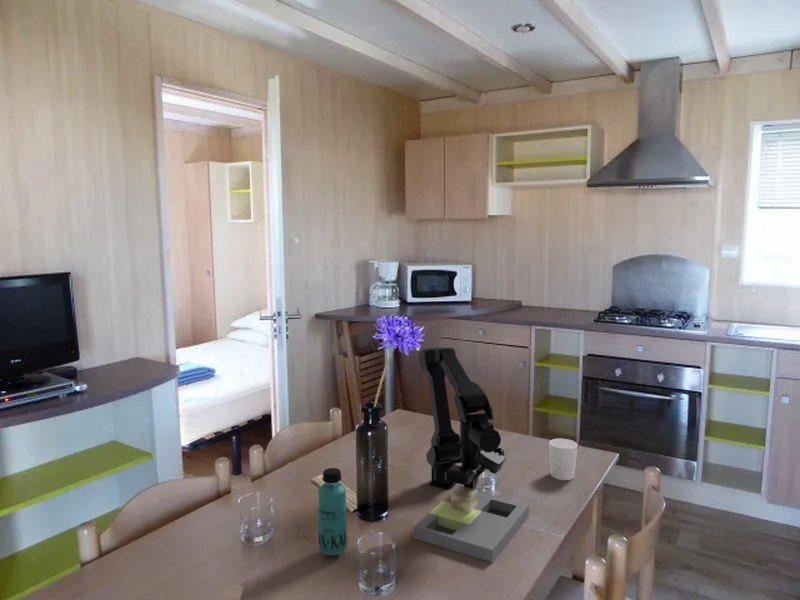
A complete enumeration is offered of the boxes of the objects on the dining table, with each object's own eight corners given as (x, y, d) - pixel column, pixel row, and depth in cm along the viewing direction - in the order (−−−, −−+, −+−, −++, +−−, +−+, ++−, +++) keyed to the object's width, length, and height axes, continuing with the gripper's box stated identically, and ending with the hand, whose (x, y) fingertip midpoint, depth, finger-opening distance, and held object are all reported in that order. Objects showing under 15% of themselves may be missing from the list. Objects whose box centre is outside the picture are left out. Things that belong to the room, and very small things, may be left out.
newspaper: (312, 482, 172) (311, 477, 172) (333, 476, 176) (333, 471, 176) (351, 515, 153) (351, 509, 152) (375, 508, 157) (375, 501, 156)
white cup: (577, 482, 169) (578, 449, 168) (549, 480, 171) (549, 447, 169) (574, 471, 177) (575, 439, 175) (547, 469, 178) (548, 437, 177)
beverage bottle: (319, 546, 137) (317, 464, 134) (348, 545, 137) (346, 463, 135) (318, 562, 130) (315, 477, 128) (348, 561, 131) (346, 475, 128)
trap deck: (414, 538, 140) (413, 526, 140) (457, 497, 161) (457, 487, 160) (492, 562, 130) (492, 550, 130) (528, 516, 150) (529, 504, 150)
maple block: (451, 508, 148) (451, 493, 148) (459, 500, 153) (459, 485, 152) (469, 513, 146) (469, 498, 145) (477, 504, 150) (477, 490, 150)
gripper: (486, 456, 139) (486, 519, 141) (513, 432, 154) (513, 488, 157) (444, 448, 144) (444, 508, 146) (474, 425, 160) (474, 479, 162)
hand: (471, 495), depth 153 cm, fingers closed
